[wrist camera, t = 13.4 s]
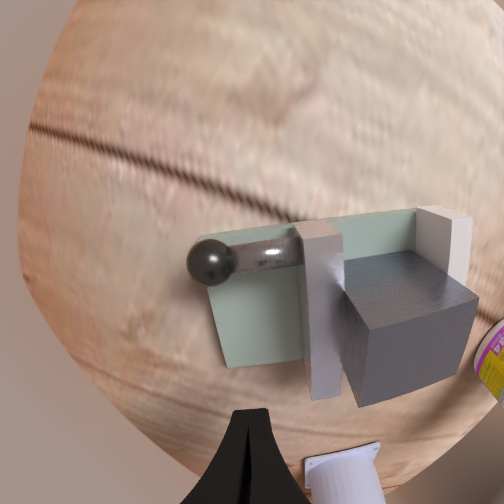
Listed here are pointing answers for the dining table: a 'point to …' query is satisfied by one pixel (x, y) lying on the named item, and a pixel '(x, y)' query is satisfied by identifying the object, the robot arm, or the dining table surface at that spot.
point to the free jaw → (310, 289)
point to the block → (402, 325)
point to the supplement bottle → (492, 361)
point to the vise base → (286, 279)
